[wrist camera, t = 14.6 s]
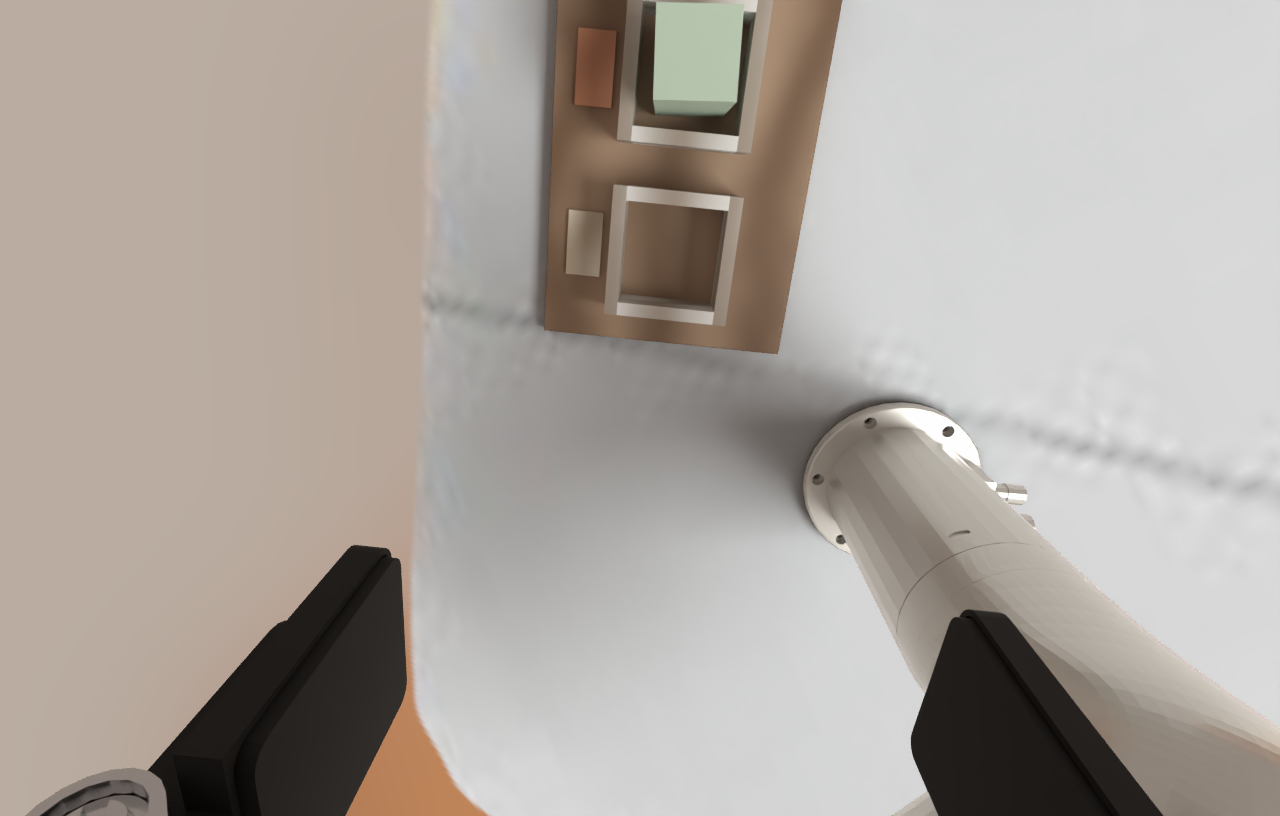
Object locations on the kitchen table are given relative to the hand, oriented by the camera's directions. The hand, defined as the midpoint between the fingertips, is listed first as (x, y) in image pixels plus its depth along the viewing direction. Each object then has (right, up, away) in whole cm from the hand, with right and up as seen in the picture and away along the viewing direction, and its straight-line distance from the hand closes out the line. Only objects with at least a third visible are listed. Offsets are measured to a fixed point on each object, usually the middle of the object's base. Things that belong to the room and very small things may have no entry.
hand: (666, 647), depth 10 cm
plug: (+3, +24, +26) cm, 35 cm away
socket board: (+2, +19, +28) cm, 34 cm away
